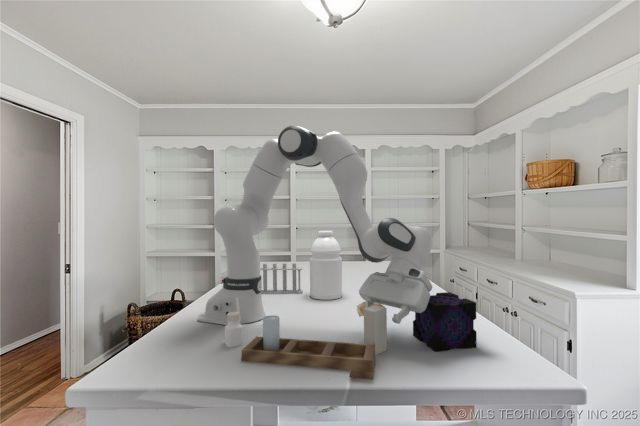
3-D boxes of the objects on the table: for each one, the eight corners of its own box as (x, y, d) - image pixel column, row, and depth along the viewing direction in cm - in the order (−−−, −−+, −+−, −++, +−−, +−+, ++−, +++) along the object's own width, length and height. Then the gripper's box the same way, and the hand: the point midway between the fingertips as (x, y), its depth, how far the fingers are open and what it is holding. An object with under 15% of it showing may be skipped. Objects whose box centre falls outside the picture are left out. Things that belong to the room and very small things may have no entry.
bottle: (311, 292, 154) (310, 230, 154) (341, 292, 154) (341, 229, 154) (309, 300, 140) (308, 232, 140) (342, 300, 140) (342, 231, 140)
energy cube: (450, 332, 102) (449, 292, 102) (476, 347, 91) (476, 302, 91) (413, 335, 100) (412, 294, 100) (435, 352, 88) (434, 305, 88)
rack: (241, 367, 81) (241, 350, 81) (256, 351, 89) (256, 336, 89) (372, 379, 74) (372, 360, 74) (375, 361, 83) (375, 344, 83)
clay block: (364, 351, 89) (363, 309, 89) (376, 346, 92) (375, 305, 92) (374, 355, 86) (374, 311, 86) (386, 349, 90) (386, 307, 90)
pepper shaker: (224, 348, 92) (224, 312, 92) (239, 345, 94) (238, 310, 94) (228, 353, 89) (227, 316, 89) (243, 350, 91) (243, 314, 91)
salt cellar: (260, 357, 82) (260, 319, 82) (266, 350, 86) (266, 315, 86) (276, 358, 81) (276, 321, 81) (282, 352, 85) (281, 315, 85)
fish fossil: (389, 325, 110) (389, 321, 110) (357, 327, 111) (357, 323, 111) (380, 302, 136) (379, 299, 136) (354, 304, 137) (354, 301, 137)
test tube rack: (246, 294, 153) (246, 264, 153) (248, 291, 158) (248, 263, 157) (302, 293, 153) (301, 264, 153) (303, 291, 157) (302, 262, 157)
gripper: (367, 265, 103) (345, 303, 97) (429, 273, 88) (408, 319, 82) (376, 277, 106) (356, 316, 100) (438, 288, 91) (418, 333, 85)
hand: (380, 317), depth 91 cm, fingers open, 8 cm apart
